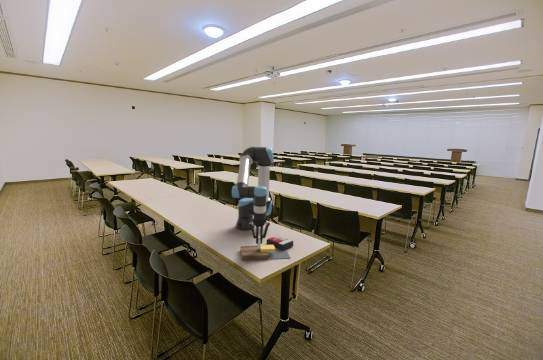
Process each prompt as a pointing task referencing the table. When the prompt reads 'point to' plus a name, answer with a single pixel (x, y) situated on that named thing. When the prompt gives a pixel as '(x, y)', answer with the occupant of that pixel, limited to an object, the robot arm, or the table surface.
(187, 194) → the table surface
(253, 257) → the brown wooden slab
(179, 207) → the table surface
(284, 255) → the mat
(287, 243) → the calculator
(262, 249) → the butter yellow block
